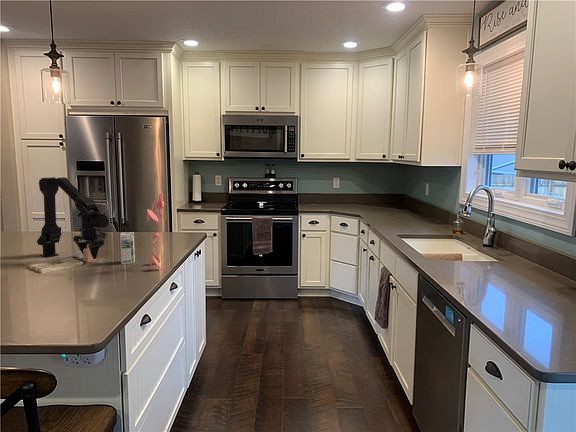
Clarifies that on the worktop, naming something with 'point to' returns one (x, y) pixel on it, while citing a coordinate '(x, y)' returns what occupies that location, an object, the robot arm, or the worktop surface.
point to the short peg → (78, 254)
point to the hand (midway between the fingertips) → (89, 257)
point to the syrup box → (127, 248)
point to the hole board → (51, 264)
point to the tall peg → (88, 255)
